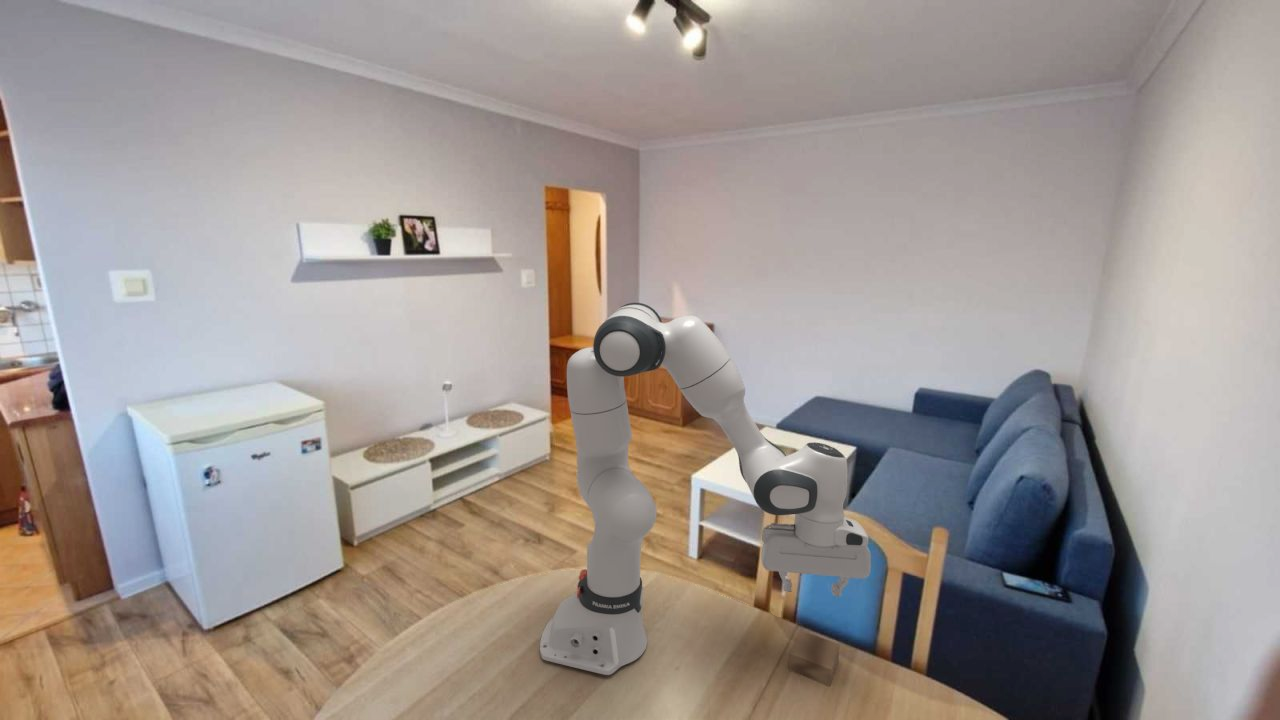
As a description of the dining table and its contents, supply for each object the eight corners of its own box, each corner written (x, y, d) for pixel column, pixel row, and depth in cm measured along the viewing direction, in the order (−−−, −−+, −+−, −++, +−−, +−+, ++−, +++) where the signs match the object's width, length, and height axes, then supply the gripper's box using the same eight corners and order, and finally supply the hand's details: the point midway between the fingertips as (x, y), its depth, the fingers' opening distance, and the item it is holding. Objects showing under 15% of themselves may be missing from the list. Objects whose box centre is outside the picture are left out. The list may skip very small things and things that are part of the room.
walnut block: (788, 671, 105) (789, 653, 104) (798, 646, 112) (800, 630, 111) (829, 687, 101) (831, 669, 100) (838, 661, 108) (839, 644, 107)
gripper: (765, 530, 99) (759, 597, 101) (877, 539, 97) (869, 606, 99) (761, 515, 105) (755, 578, 107) (866, 523, 103) (859, 587, 106)
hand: (811, 592), depth 103 cm, fingers open, 8 cm apart
